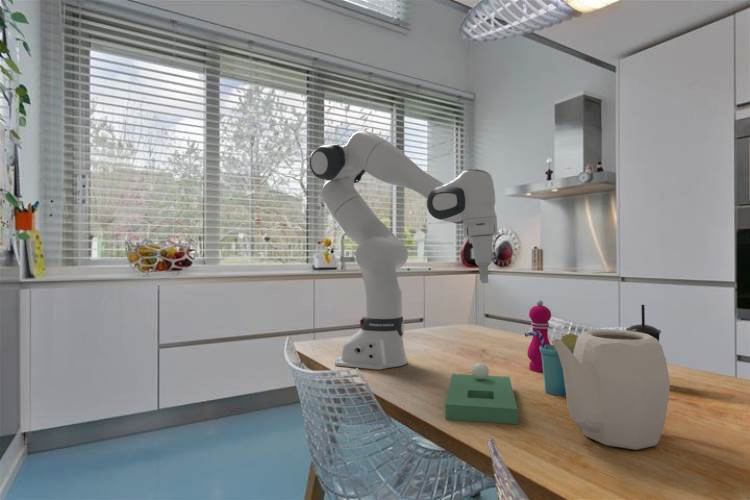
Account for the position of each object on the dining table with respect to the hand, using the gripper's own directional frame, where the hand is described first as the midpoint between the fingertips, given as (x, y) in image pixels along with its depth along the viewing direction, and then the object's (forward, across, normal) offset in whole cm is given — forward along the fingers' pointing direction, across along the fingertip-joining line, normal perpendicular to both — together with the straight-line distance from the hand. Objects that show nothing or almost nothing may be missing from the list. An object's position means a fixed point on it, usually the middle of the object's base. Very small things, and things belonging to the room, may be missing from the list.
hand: (484, 281), depth 120 cm
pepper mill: (+27, -14, +14) cm, 34 cm away
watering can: (+27, +35, +20) cm, 49 cm away
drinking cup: (+28, -5, +38) cm, 48 cm away
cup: (+27, +8, +14) cm, 32 cm away
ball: (+21, +11, -3) cm, 24 cm away
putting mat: (+26, +19, -3) cm, 32 cm away
